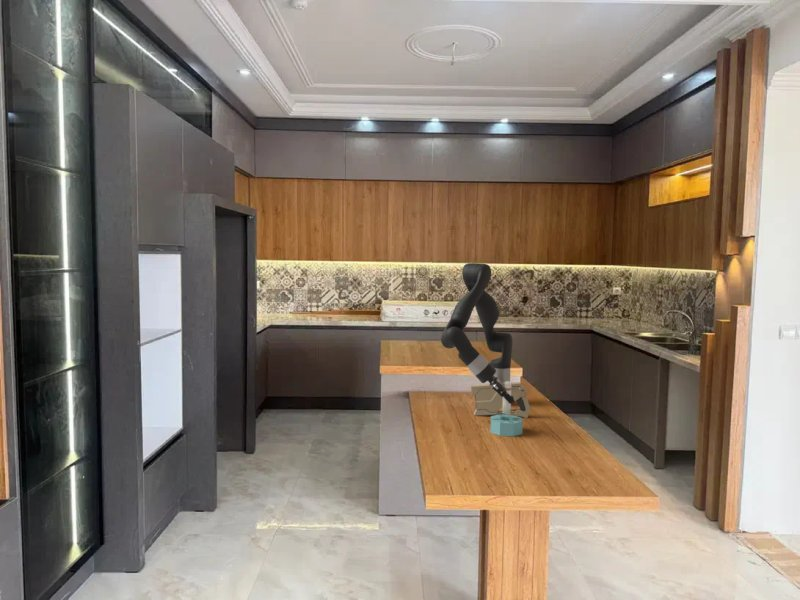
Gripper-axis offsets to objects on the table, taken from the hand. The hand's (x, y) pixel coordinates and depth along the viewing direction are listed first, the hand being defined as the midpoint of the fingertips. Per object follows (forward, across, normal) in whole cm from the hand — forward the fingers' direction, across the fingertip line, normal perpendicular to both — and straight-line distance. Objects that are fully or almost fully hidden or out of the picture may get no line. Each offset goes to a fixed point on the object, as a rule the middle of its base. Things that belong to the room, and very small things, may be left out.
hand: (512, 400), depth 220 cm
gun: (+6, +22, +12) cm, 26 cm away
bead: (+7, 0, +10) cm, 12 cm away
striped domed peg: (+2, 0, +5) cm, 5 cm away
